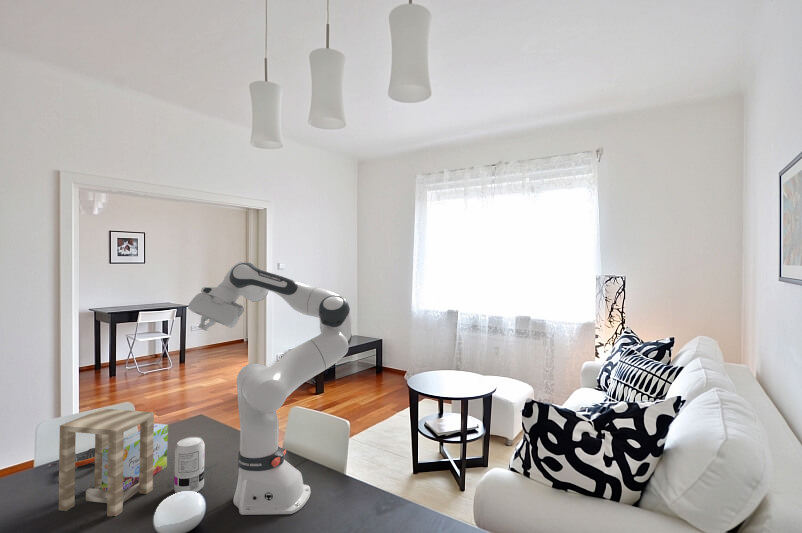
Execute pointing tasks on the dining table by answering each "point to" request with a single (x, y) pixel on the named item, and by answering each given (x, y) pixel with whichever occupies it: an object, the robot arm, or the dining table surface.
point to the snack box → (138, 457)
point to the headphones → (89, 459)
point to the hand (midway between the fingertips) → (202, 329)
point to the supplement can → (189, 465)
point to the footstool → (111, 435)
